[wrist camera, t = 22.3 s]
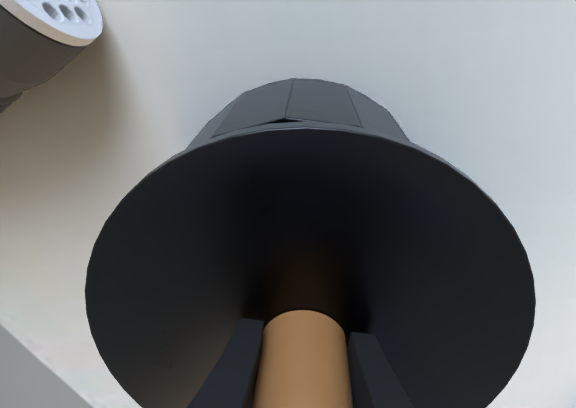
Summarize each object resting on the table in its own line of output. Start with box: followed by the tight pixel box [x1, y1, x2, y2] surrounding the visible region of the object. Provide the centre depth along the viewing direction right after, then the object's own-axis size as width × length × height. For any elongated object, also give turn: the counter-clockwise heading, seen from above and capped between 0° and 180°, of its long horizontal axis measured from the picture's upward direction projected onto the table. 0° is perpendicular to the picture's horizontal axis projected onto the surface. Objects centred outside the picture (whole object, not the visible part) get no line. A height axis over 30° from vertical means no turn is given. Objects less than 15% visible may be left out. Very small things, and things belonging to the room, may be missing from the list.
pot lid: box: [85, 121, 536, 408], centre depth 10 cm, size 12×12×4 cm
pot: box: [185, 78, 410, 150], centre depth 17 cm, size 11×11×7 cm
